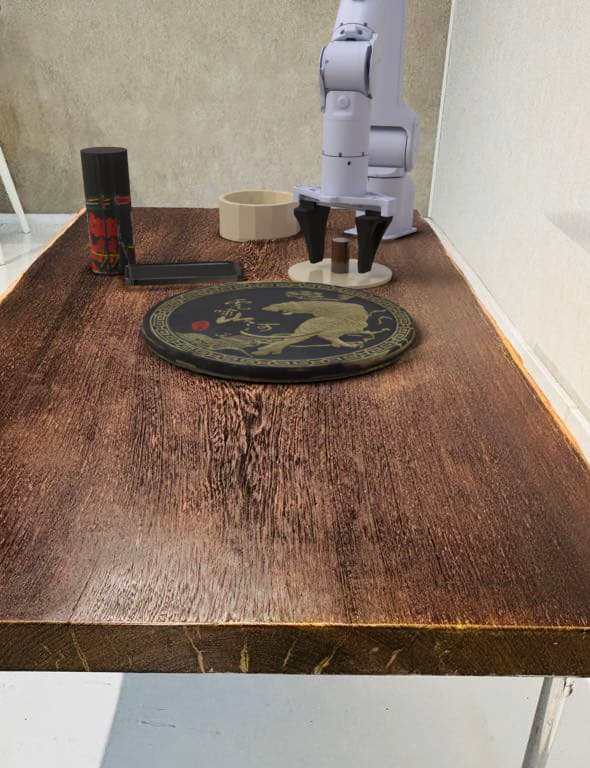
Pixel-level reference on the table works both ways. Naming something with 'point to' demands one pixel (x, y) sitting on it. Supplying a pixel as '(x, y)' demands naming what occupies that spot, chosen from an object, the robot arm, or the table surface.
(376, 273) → the cover
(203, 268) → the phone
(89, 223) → the deodorant
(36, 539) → the table surface
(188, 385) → the table surface
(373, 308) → the decorative plate
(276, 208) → the container
